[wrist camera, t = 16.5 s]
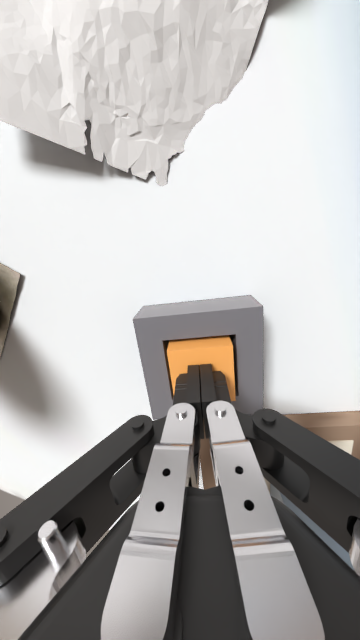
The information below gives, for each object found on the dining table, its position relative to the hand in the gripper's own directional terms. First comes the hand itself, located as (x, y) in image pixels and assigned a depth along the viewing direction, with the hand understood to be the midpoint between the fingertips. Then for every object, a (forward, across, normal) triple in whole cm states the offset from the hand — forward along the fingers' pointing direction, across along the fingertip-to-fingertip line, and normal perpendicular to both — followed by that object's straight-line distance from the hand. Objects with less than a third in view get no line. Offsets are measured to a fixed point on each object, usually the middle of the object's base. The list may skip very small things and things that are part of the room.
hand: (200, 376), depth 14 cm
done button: (+3, 0, 0) cm, 3 cm away
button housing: (+4, 0, 0) cm, 4 cm away
